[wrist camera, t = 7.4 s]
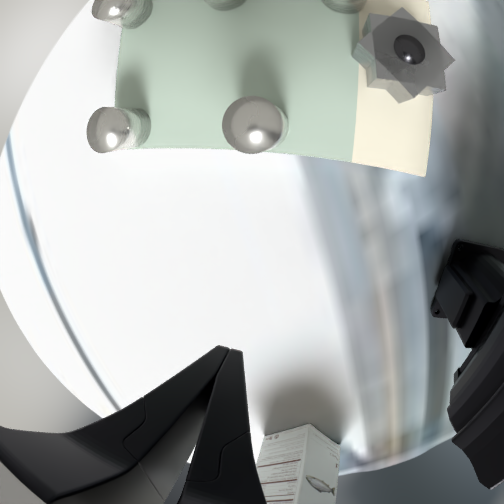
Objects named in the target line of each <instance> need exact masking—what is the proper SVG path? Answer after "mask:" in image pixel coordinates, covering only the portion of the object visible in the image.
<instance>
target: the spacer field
mask: <svg viewBox="0 0 504 504" xmlns="http://www.w3.org/2000/svg"><path fill="white" fill-rule="evenodd" d="M204 1H205V2H206V3H207V4H208V5H209V6H210V7H211V8H213V9H215V10H218V11H229V10H233V9H236V8H238V7H240V6H241V5H242V4H244V3H245V2H246V0H204ZM321 1H322V3H323V4H324V5H325V6H326V7H327V8H329V9H330V10H332V11H334V12H337V13H341V14H354V13H357V12H359V11H361V10H362V9H363V8H364V6H365V4H366V1H367V0H321ZM152 10H153V4H152V2H151V0H95V1H94V3H93V6H92V15H93V16H94V17H95V18H97V19H100V20H103V21H106V22H109V23H112V24H114V25H117V26H120V27H123V28H125V29H135V28H137V27H139V26H141V25H142V24H143V23H145V22H146V21H147V19H148V18H149V17H150V15H151V13H152ZM288 130H289V124H288V119H287V117H286V115H285V114H284V112H283V111H282V110H281V109H280V108H278V107H277V106H275V105H274V104H273V103H271V102H270V101H268V100H266V99H265V98H262V97H258V96H245V97H242V98H239V99H237V100H236V101H234V102H233V103H232V104H231V105H230V106H229V107H228V108H227V110H226V111H225V113H224V116H223V119H222V131H223V134H224V137H225V139H226V140H227V142H228V143H229V144H230V145H231V146H232V147H233V148H234V149H236V150H238V151H240V152H243V153H248V154H255V153H260V152H264V151H267V150H271V149H274V148H276V147H278V146H279V145H280V144H282V143H283V141H284V140H285V139H286V137H287V134H288ZM150 132H151V120H150V117H149V115H148V114H147V113H146V112H145V111H144V110H142V109H140V108H122V107H102V108H100V109H98V110H96V111H95V112H94V113H93V114H92V116H91V117H90V119H89V122H88V125H87V139H88V142H89V145H90V146H91V148H92V149H93V150H94V151H96V152H98V153H106V152H112V151H117V150H123V149H129V148H136V147H139V146H141V145H143V144H144V143H145V142H146V140H147V139H148V137H149V135H150Z"/></svg>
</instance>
